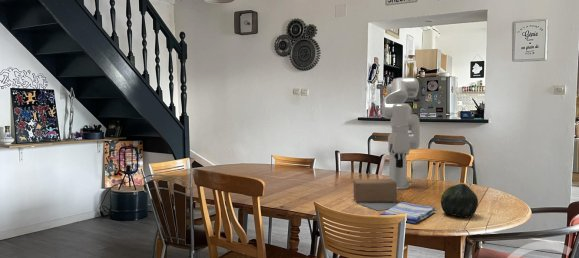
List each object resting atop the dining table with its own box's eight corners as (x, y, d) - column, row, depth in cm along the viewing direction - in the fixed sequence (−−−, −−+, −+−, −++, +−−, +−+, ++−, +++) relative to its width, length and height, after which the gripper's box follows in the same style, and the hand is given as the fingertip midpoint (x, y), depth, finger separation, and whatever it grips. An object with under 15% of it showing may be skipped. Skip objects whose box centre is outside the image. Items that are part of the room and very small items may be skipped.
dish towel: (436, 212, 191) (436, 206, 190) (417, 225, 172) (417, 218, 172) (399, 206, 201) (399, 200, 201) (377, 217, 182) (377, 211, 182)
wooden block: (397, 181, 208) (355, 182, 209) (397, 202, 208) (355, 202, 209) (392, 178, 218) (353, 179, 219) (393, 198, 218) (353, 198, 219)
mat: (384, 200, 216) (384, 199, 216) (406, 206, 202) (406, 206, 202) (357, 203, 208) (357, 203, 208) (378, 211, 194) (378, 210, 194)
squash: (440, 197, 198) (442, 176, 187) (475, 200, 194) (479, 179, 183) (439, 223, 188) (442, 203, 178) (476, 227, 184) (481, 207, 174)
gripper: (406, 128, 214) (406, 165, 216) (382, 129, 208) (382, 167, 209) (417, 129, 208) (416, 167, 209) (392, 130, 201) (392, 169, 202)
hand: (399, 167), depth 209 cm, fingers closed
